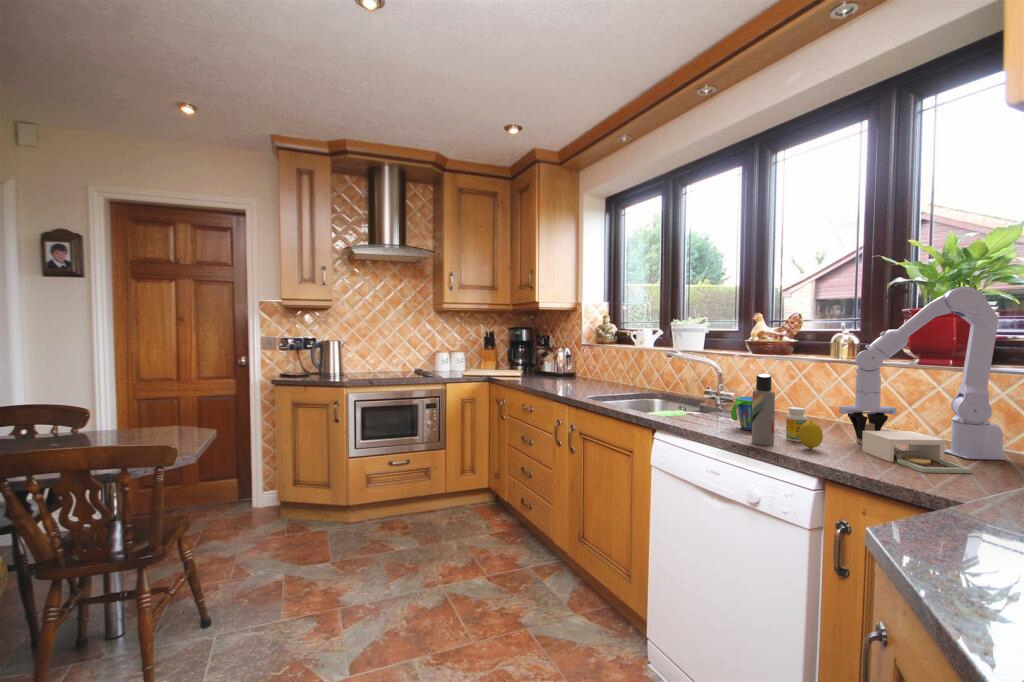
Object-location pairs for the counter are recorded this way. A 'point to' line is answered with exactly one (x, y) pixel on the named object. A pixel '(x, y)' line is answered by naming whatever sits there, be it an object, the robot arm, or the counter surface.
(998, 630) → the counter surface
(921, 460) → the token
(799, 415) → the supplement bottle
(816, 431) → the lemon
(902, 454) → the push slider
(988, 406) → the robot arm
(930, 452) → the ivory tunnel cover
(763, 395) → the lotion bottle
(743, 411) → the snack cup
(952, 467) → the tray
